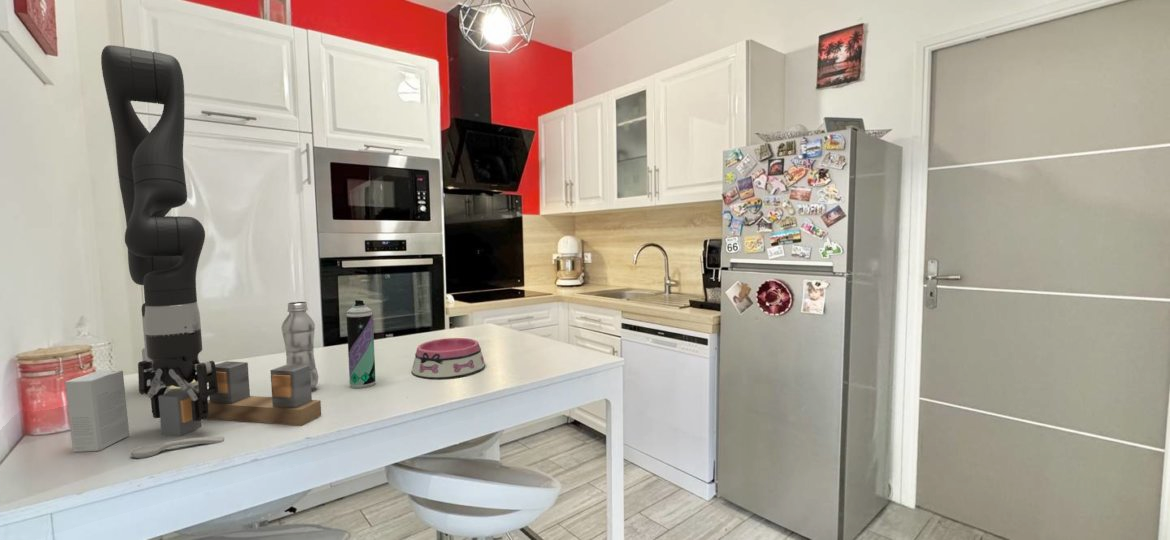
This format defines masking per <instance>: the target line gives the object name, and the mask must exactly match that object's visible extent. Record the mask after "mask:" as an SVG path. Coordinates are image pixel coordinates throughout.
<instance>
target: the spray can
mask: <svg viewBox="0 0 1170 540" xmlns="http://www.w3.org/2000/svg"><path fill="white" fill-rule="evenodd" d="M372 311H373V309H372V308H369V307H368V306H367V305H366V304H365V303H364V300H363V299H355V301H354V304H353V305H352V307H351V308H349V309H348V310H347V311H346V329H347V330H346V331H347V332H346V333H347V351H348V354H347V356H348V373H349V374H348V375H349V377H348V378H349V387H350V388H351V389H364V388H365V389H366V388H370V387H372V386H374V385H376V363H375V362H376V361H375V360H376V359H375V357H376V355H375V339H374V338H375V337H374V336H375V335H374V315H373V312H372Z"/></svg>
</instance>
